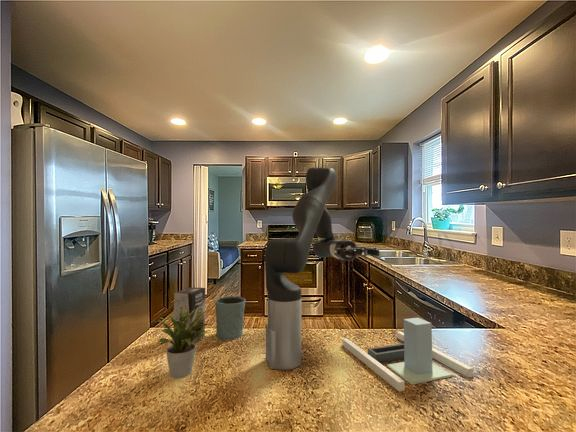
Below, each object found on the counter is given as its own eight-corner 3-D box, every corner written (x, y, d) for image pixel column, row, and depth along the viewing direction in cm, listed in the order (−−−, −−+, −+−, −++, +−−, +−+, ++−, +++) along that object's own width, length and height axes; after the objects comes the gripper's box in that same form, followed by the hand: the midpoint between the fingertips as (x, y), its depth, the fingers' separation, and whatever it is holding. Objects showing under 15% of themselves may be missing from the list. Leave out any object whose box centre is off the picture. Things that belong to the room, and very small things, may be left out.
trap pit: (376, 364, 76) (376, 354, 76) (367, 357, 80) (367, 348, 80) (424, 356, 81) (424, 347, 81) (414, 350, 85) (414, 341, 85)
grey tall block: (417, 374, 69) (416, 324, 70) (404, 366, 74) (403, 319, 74) (432, 372, 71) (431, 323, 71) (419, 363, 75) (418, 317, 76)
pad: (411, 384, 66) (411, 382, 66) (387, 366, 75) (387, 364, 75) (452, 376, 70) (452, 374, 70) (424, 360, 78) (424, 358, 78)
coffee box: (191, 346, 88) (191, 293, 88) (172, 344, 89) (173, 292, 89) (205, 335, 96) (206, 287, 97) (188, 334, 98) (188, 286, 98)
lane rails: (399, 391, 63) (398, 382, 63) (342, 345, 88) (342, 338, 88) (472, 376, 70) (472, 368, 70) (400, 337, 94) (400, 331, 94)
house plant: (170, 399, 60) (171, 321, 61) (133, 381, 68) (135, 311, 68) (219, 370, 72) (220, 305, 73) (184, 357, 80) (184, 298, 80)
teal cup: (219, 329, 102) (219, 295, 102) (247, 330, 101) (247, 296, 102) (210, 341, 92) (211, 303, 92) (242, 341, 91) (242, 303, 92)
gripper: (325, 240, 107) (347, 242, 91) (359, 239, 111) (385, 241, 95) (326, 260, 106) (347, 265, 91) (359, 258, 111) (385, 264, 95)
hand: (367, 253), depth 93 cm, fingers open, 8 cm apart
